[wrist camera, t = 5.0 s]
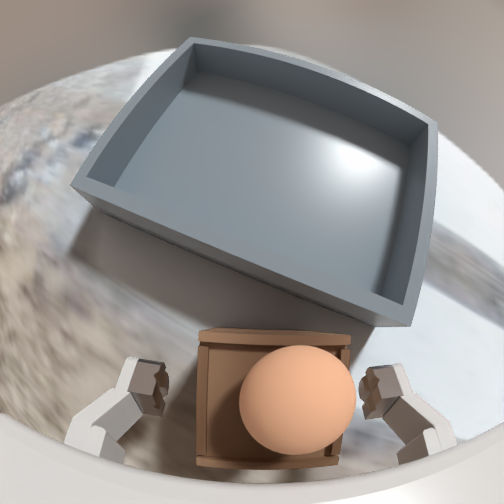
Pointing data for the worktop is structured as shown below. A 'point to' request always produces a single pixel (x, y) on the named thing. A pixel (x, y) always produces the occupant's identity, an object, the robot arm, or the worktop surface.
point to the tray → (276, 176)
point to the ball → (297, 400)
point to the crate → (228, 391)
